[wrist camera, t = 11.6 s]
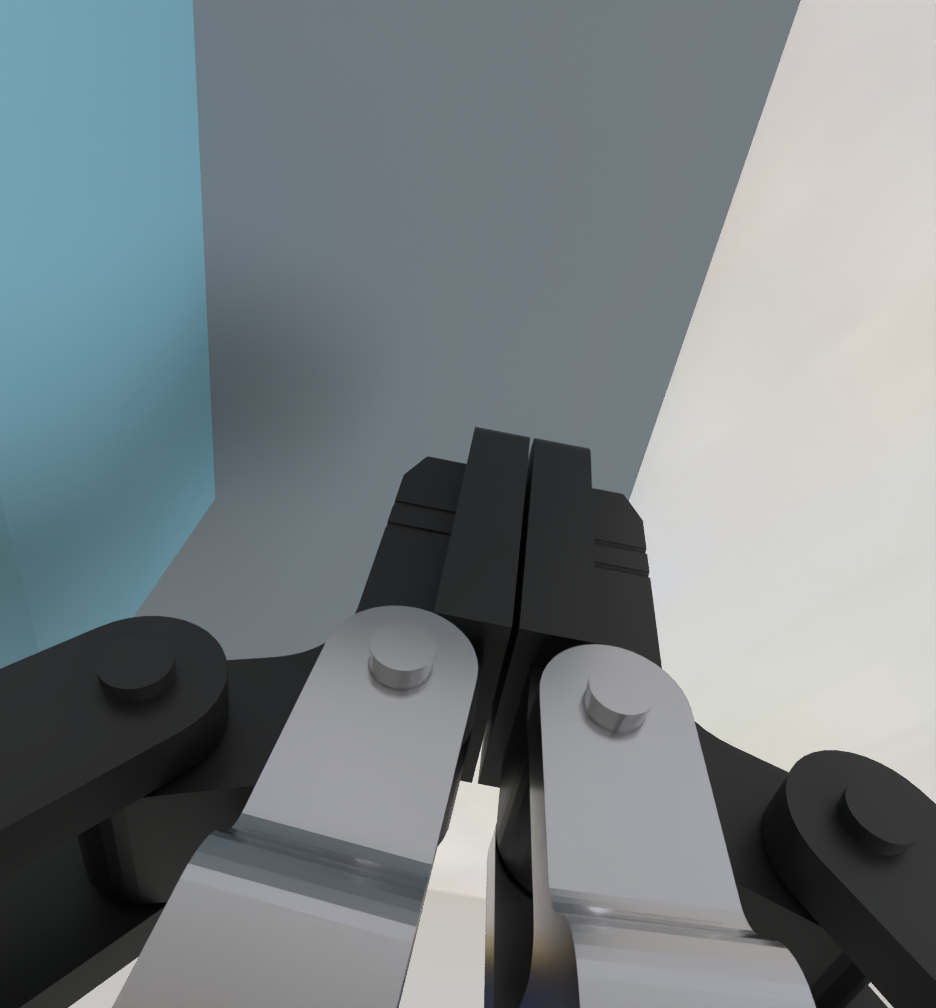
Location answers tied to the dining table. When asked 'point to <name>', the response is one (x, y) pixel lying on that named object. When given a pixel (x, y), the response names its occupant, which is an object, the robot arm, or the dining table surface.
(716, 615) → the dining table surface
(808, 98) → the dining table surface
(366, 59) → the mat
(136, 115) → the card box
